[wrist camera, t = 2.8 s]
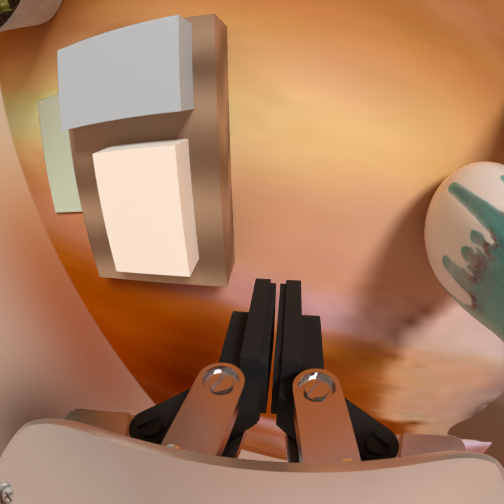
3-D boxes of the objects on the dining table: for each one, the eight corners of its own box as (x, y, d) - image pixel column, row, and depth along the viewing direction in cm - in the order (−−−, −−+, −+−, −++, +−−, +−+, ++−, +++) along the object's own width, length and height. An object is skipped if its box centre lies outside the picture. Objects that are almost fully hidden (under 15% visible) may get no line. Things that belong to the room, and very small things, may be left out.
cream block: (111, 146, 19) (92, 153, 17) (188, 138, 18) (175, 145, 16) (130, 255, 24) (116, 271, 21) (199, 258, 23) (189, 276, 21)
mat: (40, 100, 21) (37, 101, 21) (93, 83, 20) (90, 83, 20) (57, 210, 27) (55, 212, 27) (108, 209, 26) (106, 210, 26)
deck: (92, 53, 19) (64, 51, 15) (226, 26, 18) (214, 13, 14) (118, 255, 29) (99, 276, 25) (234, 260, 27) (226, 286, 24)
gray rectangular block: (82, 125, 18) (61, 130, 16) (78, 51, 15) (57, 50, 13) (193, 108, 17) (181, 111, 15) (191, 23, 14) (178, 14, 12)
